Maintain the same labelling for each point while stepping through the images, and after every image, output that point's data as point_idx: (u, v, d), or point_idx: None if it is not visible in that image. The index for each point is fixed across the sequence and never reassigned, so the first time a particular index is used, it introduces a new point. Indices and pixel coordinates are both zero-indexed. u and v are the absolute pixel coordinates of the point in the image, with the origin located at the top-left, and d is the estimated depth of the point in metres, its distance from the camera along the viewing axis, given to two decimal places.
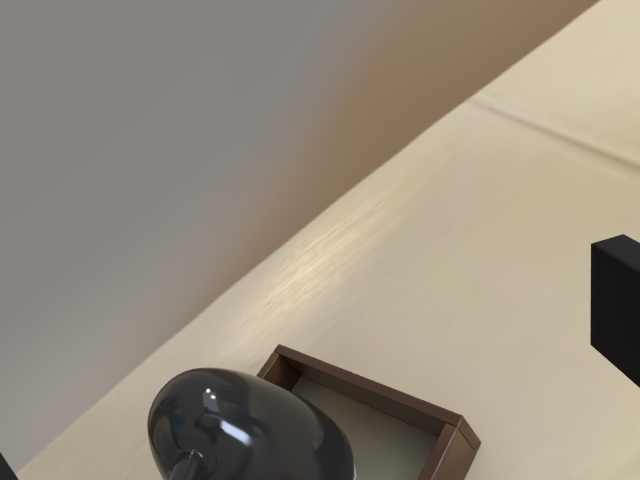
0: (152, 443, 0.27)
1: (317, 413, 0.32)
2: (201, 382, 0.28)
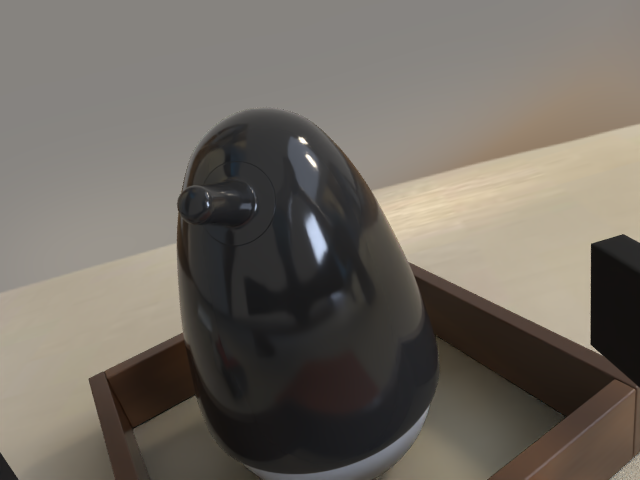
0: (191, 166, 0.17)
1: None
2: (297, 116, 0.18)
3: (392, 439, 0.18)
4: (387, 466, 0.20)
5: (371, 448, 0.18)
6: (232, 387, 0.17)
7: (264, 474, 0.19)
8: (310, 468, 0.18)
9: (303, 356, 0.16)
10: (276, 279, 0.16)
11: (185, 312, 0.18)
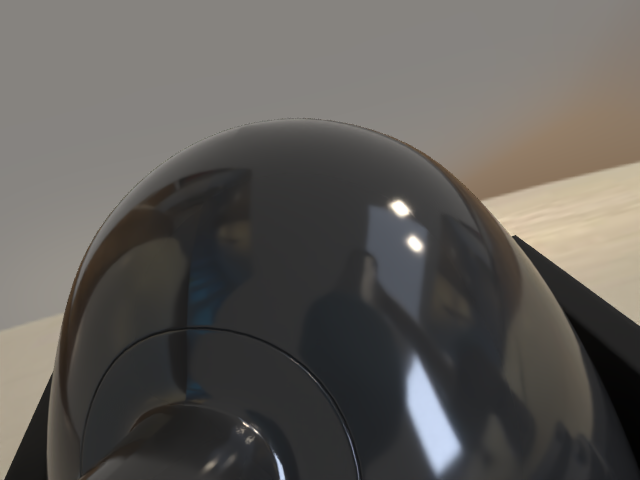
0: (69, 307, 0.05)
1: None
2: (402, 147, 0.06)
3: None
4: None
5: None
6: None
7: None
8: None
9: None
10: None
11: None
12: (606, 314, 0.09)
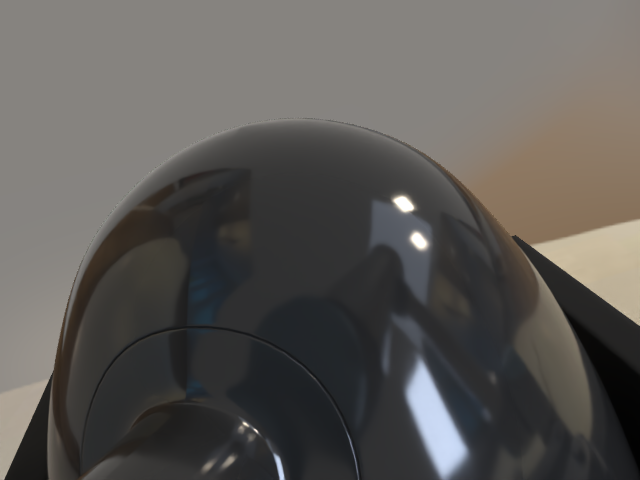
0: (70, 306, 0.05)
1: None
2: (403, 147, 0.06)
3: None
4: None
5: None
6: None
7: None
8: None
9: None
10: None
11: None
12: (606, 313, 0.09)
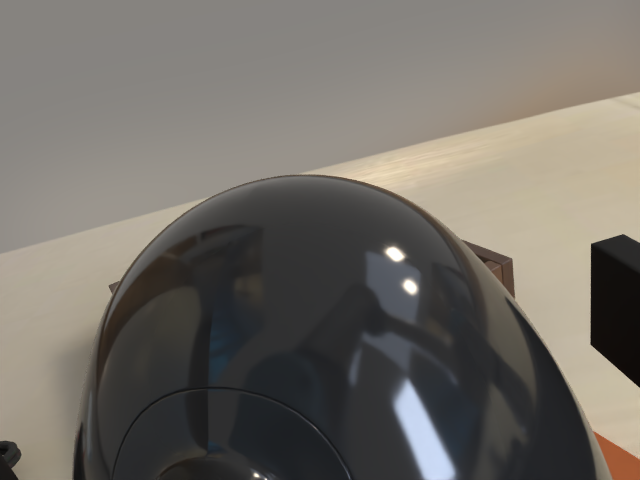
0: (96, 356, 0.06)
1: None
2: (402, 208, 0.06)
3: None
4: None
5: None
6: None
7: None
8: None
9: None
10: None
11: None
12: None
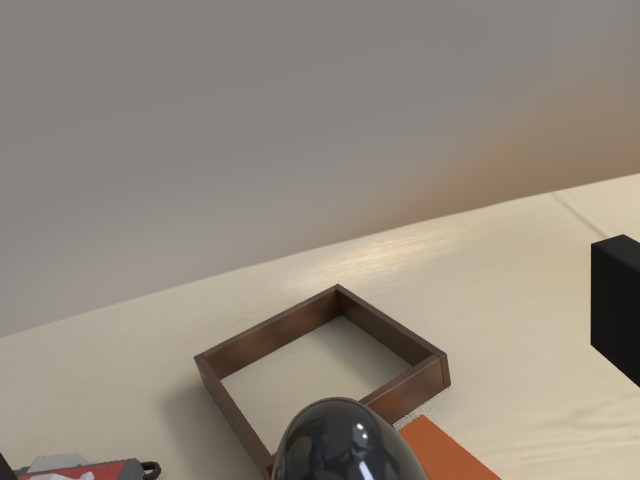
0: (287, 458, 0.24)
1: None
2: (363, 419, 0.24)
3: None
4: None
5: None
6: None
7: None
8: None
9: None
10: None
11: None
12: None
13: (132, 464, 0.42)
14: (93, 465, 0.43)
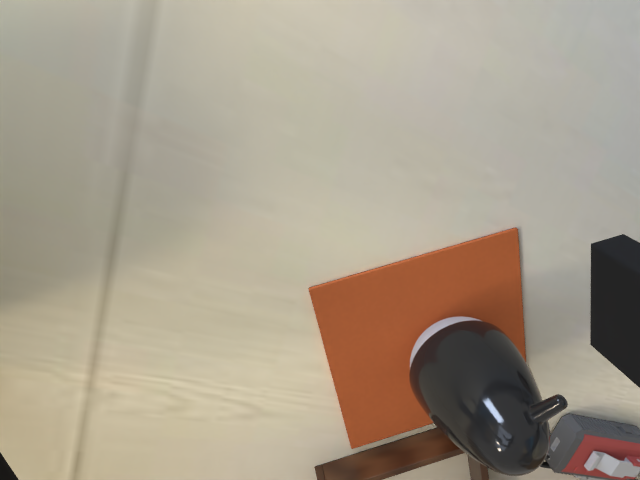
0: (549, 443, 0.39)
1: (427, 386, 0.44)
2: (506, 455, 0.38)
3: (455, 324, 0.46)
4: (448, 318, 0.48)
5: (465, 322, 0.46)
6: (520, 356, 0.44)
7: None
8: (487, 323, 0.47)
9: (502, 355, 0.43)
10: (517, 381, 0.41)
11: None
12: None
13: (558, 468, 0.58)
14: (580, 474, 0.60)
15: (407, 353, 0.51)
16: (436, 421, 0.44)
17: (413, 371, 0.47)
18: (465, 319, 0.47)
